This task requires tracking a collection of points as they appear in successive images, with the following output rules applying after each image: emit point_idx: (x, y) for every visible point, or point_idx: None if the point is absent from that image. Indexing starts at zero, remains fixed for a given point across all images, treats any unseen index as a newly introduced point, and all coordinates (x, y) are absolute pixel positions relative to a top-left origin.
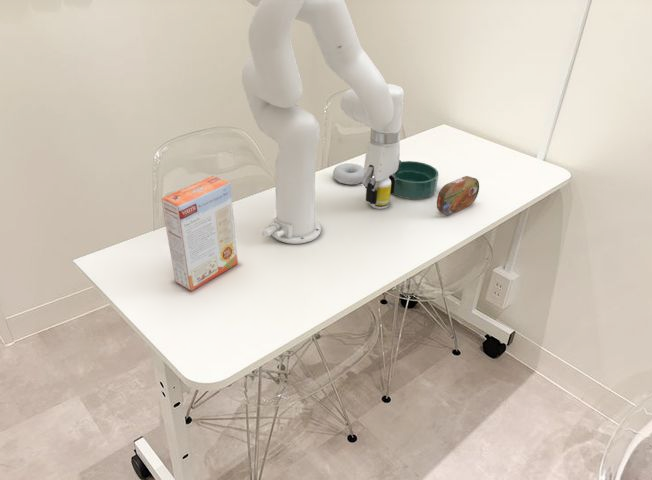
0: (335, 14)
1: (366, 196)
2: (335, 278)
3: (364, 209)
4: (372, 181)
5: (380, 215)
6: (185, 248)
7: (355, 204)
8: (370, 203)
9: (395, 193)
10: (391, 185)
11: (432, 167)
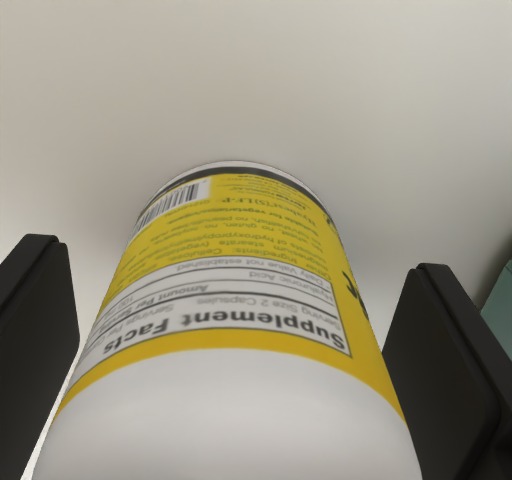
0: None
1: (2, 272)
2: None
3: (47, 187)
4: (51, 474)
5: (80, 340)
6: None
7: (51, 35)
8: (141, 214)
9: (496, 301)
10: (413, 440)
11: None
